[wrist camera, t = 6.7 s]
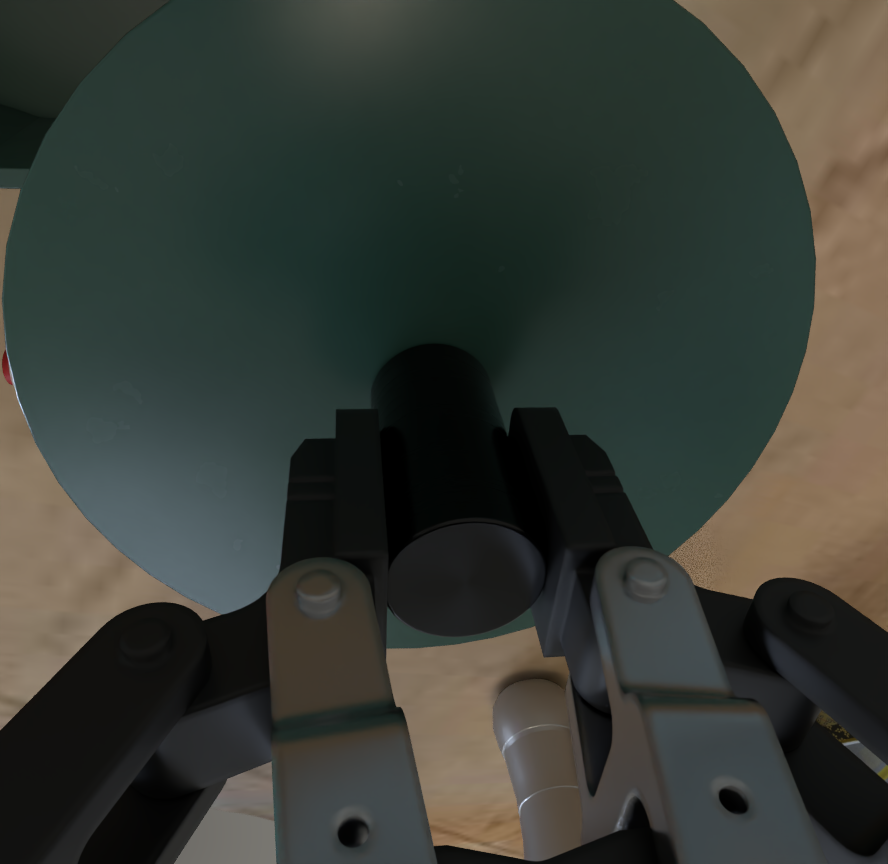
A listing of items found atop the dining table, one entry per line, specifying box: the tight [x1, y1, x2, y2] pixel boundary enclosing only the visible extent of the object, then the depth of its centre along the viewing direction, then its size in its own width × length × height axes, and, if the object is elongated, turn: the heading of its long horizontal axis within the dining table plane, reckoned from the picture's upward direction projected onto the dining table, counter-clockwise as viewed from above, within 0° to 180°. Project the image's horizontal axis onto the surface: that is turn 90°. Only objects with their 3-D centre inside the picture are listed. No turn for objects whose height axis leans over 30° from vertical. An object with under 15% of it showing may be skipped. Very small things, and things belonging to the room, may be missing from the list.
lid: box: [2, 0, 816, 648], centre depth 13 cm, size 15×15×6 cm
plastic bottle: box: [493, 679, 582, 861], centre depth 50 cm, size 6×7×20 cm
